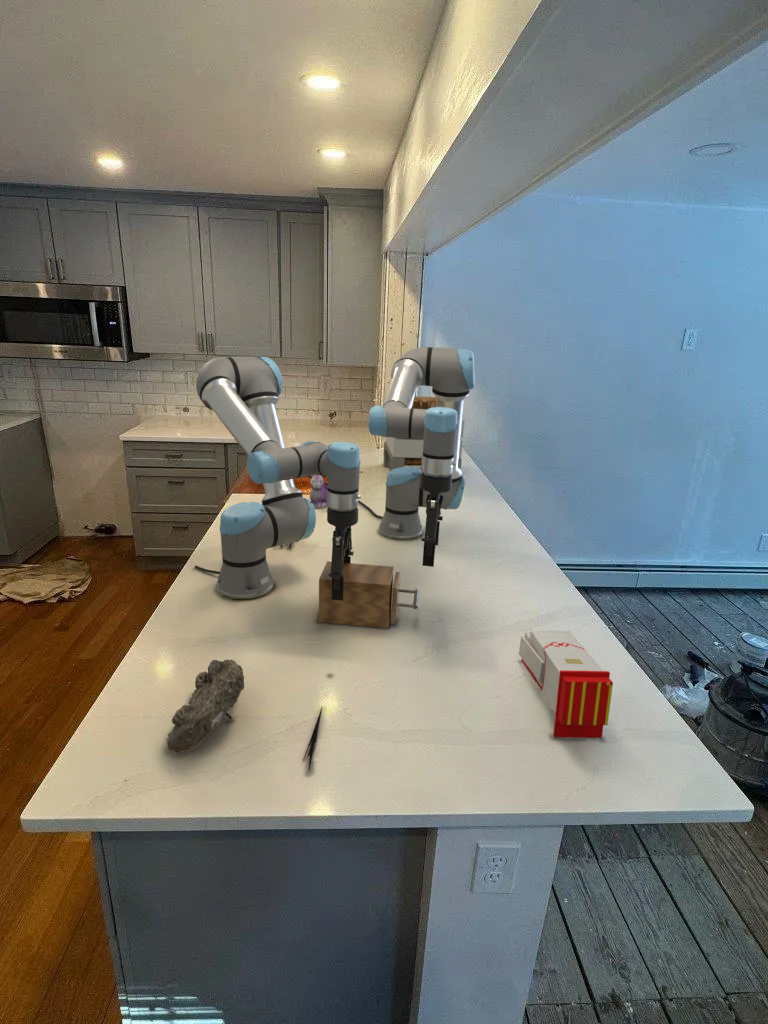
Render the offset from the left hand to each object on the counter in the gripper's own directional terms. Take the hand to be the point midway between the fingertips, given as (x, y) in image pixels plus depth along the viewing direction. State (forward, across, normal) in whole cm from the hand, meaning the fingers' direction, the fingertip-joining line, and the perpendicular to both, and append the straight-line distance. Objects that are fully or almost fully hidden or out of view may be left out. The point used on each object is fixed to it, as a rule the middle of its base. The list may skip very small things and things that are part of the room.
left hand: (341, 588), depth 144 cm
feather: (+7, -40, -3) cm, 41 cm away
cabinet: (+7, 0, -4) cm, 8 cm away
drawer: (+6, 0, -9) cm, 11 cm away
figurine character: (+7, +43, +25) cm, 50 cm away
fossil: (+7, -42, +18) cm, 46 cm away
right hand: (-10, +4, -22) cm, 24 cm away
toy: (+7, -25, -50) cm, 56 cm away
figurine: (+7, +82, +22) cm, 85 cm away
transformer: (+7, +138, -15) cm, 139 cm away
